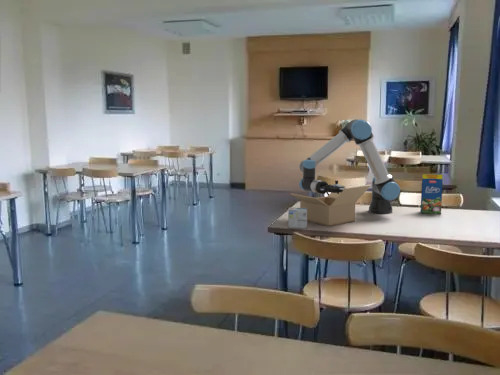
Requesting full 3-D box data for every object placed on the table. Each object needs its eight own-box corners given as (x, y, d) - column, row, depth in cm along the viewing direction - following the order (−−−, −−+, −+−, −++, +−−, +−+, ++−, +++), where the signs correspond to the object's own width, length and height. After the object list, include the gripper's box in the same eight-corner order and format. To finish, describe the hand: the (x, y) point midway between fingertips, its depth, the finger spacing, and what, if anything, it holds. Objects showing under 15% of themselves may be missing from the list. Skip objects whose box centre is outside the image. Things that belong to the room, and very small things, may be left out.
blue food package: (441, 214, 313) (443, 175, 309) (421, 213, 316) (423, 174, 312) (439, 212, 319) (441, 174, 315) (420, 211, 322) (422, 173, 318)
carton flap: (345, 187, 268) (345, 188, 267) (370, 184, 280) (371, 185, 280) (330, 205, 278) (330, 206, 278) (355, 201, 290) (355, 202, 290)
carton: (288, 221, 294) (288, 192, 292) (334, 213, 317) (335, 186, 315) (317, 228, 274) (318, 198, 272) (364, 219, 298) (365, 191, 295)
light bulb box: (306, 225, 282) (307, 207, 281) (307, 228, 275) (307, 209, 274) (288, 225, 283) (288, 207, 282) (288, 228, 277) (288, 209, 275)
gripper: (327, 192, 301) (356, 197, 282) (311, 194, 293) (340, 199, 274) (327, 180, 300) (357, 184, 281) (311, 181, 292) (341, 186, 273)
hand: (348, 191), depth 277 cm, fingers closed
